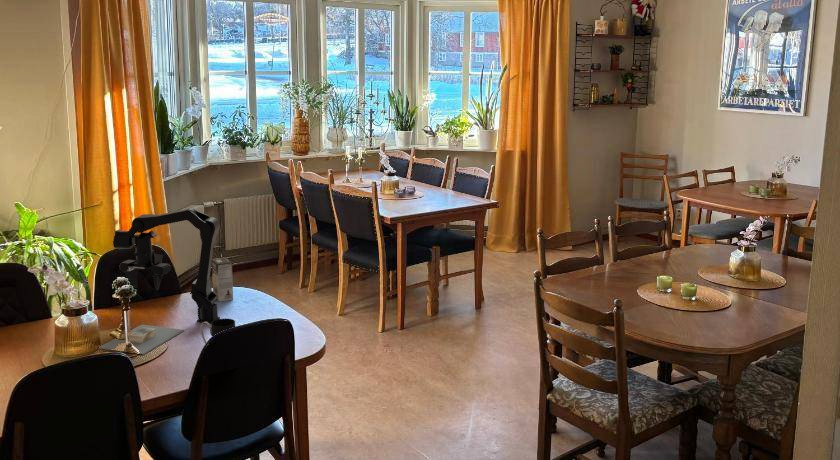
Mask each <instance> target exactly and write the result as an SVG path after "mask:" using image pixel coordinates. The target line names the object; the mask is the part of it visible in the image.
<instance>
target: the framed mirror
mask: <svg viewBox="0 0 840 460" xmlns="http://www.w3.org/2000/svg"><path fill="white" fill-rule="evenodd" d="M155 335H156V334H155V329H154V328H146V327H142V328H141V329H139V330H137V331H135V332H133V333H131V334H130V335H129V340H130V342H137V343H143V342H145V341H147V340H148V339H150V338H152V337H153V336H155Z"/></svg>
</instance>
